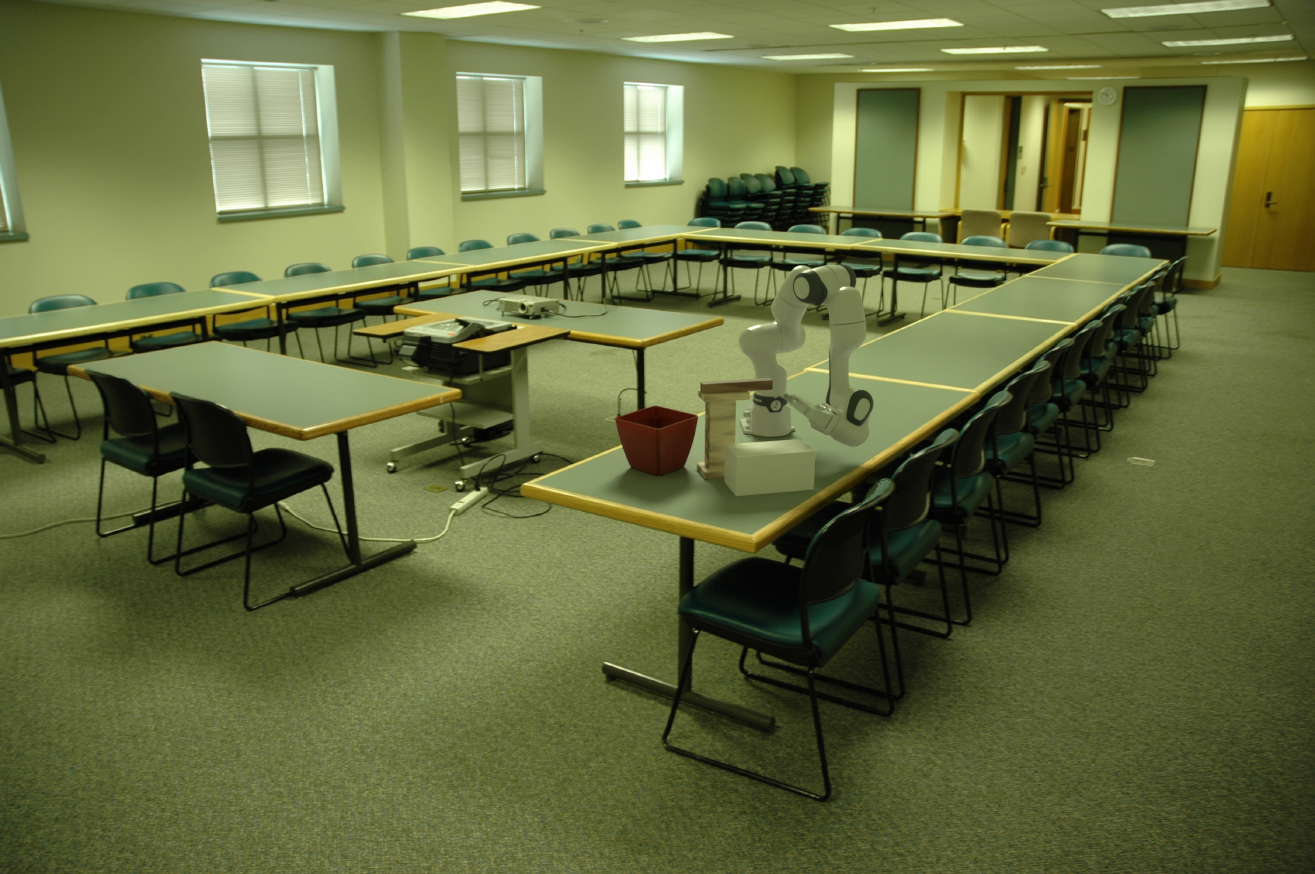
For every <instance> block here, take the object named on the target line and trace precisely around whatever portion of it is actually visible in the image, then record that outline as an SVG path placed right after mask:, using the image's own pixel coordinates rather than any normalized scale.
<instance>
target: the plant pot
mask: <svg viewBox="0 0 1315 874" xmlns="http://www.w3.org/2000/svg"><path fill="white" fill-rule="evenodd" d="M614 420H615V425H616V426H615V427H616V429H617V430H616V431H617V433H618V437H619V440H620V444H621V446H622V449H623V452H624V454H625V455H624V456H625V457H626V460H627V463H628V465H629V467H630V468H631V469H634V470H637V471H640V472H643V473H647V474H649V475H654V476H657V477H658V476H662V475H665V474H668V473H671V472H673V471H676V470H678V469H681V468H684V467H685V465H686V463H687V461H688V459H689V456H690V453H691V451H692V447H693V444H694V440H695V435H696V431H697V428H698V427H697V426H698V422H699V415H698V414H693V413H690V412H685V411H682V410H681V411H680V410H676V409H671V408H668V407H664V406H659V405H652V406H648V407H645V408H642V409H638V410H635V411H632V412H631V411H630V412H629V413H626V414H622V415H620V416H617V417H615V419H614Z"/></svg>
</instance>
